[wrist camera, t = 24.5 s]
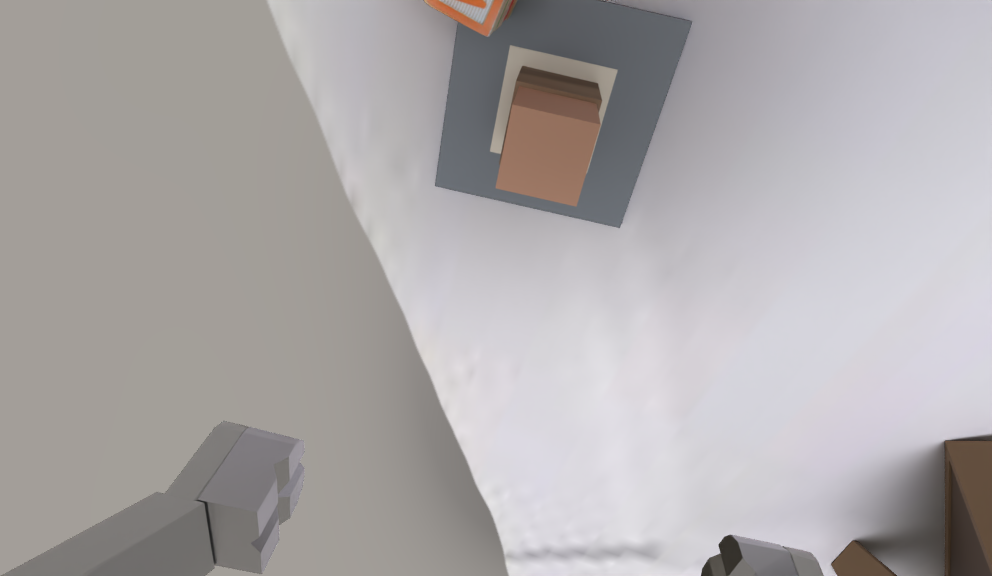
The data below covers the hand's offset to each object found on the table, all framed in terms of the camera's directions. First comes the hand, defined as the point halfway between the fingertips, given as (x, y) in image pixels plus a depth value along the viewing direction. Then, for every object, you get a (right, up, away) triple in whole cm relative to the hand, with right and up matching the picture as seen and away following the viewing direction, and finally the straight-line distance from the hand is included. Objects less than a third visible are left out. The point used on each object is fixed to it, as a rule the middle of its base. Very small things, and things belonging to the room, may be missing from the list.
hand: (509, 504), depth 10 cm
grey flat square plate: (+3, +16, +26) cm, 31 cm away
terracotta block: (+3, +13, +21) cm, 25 cm away
